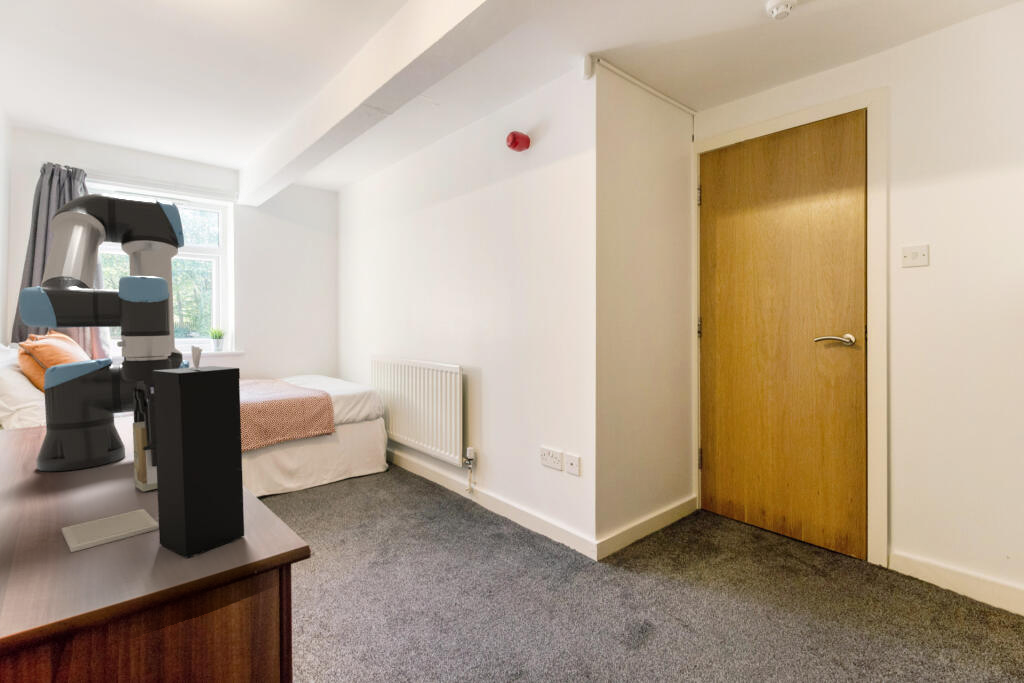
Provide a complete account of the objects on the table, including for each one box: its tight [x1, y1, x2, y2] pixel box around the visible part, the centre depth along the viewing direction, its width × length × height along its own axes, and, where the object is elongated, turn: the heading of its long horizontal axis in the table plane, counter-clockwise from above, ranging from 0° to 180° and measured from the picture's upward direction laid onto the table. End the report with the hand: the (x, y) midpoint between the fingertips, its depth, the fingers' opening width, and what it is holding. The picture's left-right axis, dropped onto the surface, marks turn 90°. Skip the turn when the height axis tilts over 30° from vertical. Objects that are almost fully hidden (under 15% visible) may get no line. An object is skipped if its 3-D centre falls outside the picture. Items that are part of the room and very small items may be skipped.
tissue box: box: [152, 345, 245, 559], centre depth 69 cm, size 8×8×28 cm
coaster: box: [61, 508, 159, 553], centre depth 73 cm, size 10×10×1 cm
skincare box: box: [132, 421, 158, 492], centre depth 93 cm, size 6×4×12 cm
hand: (151, 478), depth 93 cm, fingers closed on skincare box, 6 cm apart
